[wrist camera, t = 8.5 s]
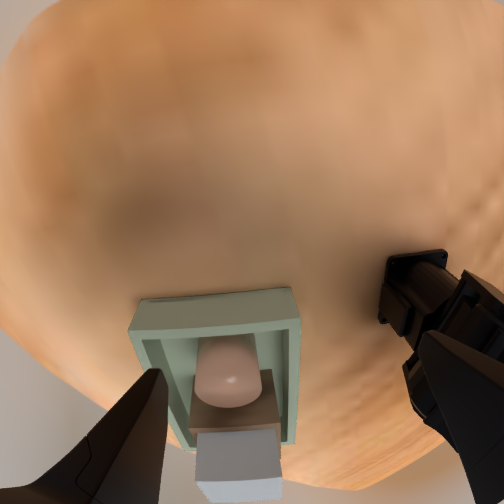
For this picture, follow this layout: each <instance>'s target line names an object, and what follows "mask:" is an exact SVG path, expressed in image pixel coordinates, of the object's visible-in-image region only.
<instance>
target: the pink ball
mask: <svg viewBox="0 0 504 504" xmlns="http://www.w3.org/2000/svg"><path fill="white" fill-rule="evenodd" d="M261 391H262V384H261V377H260V370H259V362H258V355H257V348H256V341H255V335H254V333H247V334H236V335H224V336H211V337H199V338H198V348H197V361H196V375H195V393H196V395H197V396H198V397H199V398H200V399H201V400H202V401H204V402H205V403H207V404H210V405H213V406H216V407H223V408H233V407H240V406H244V405H246V404H249V403H251V402H253V401H254V400H255V399H257V398H258V397H259V395H260V394H261Z"/></svg>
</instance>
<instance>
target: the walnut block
mask: <svg viewBox="0 0 504 504" xmlns="http://www.w3.org/2000/svg"><path fill="white" fill-rule="evenodd" d="M260 377H261V384H262V391H261V394H260V395H259V397H258V398H257V399H255V400H254V401H253V402H251V403H249V404H246V405H244V406H240V407H233V408H223V407H216V406H213V405H210V404H207V403H205V402H204V401H202V400H201V399H200V398H199V397H198V396H197V395H196V393H195V375H194V378H193V387H192V396H191V405H190V415H189V426H188V429H189V431H190V433H191V435H192V437H193V439H194V441H195V443H196V445H197V434H198V433H217V432H237V431H251V430H262V429H271V428H275V431H276V438H277V444H278V451H279V458H280V459H281V422H280V416H279V410H278V404H277V398H276V392H275V386H274V380H273V374H272V369H265V370H260Z"/></svg>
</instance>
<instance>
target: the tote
mask: <svg viewBox="0 0 504 504" xmlns="http://www.w3.org/2000/svg"><path fill="white" fill-rule="evenodd" d="M127 331H128V334H129V336H130V339H131V341H132V344H133V346H134V349H135V351H136V354H137V356H138V359H139V361H140V363H141V366H142V368H143V370H144V373H145V372H146V370H147V369H149V368H160V369H161V370H162V371H163V374H164V376H165V379H166V381H167V384H168V388H169V396H168V422H169V424H170V426H171V428H172V430H173V432H174V434H175V435H176V437H177V439H178V441H179V442H180V444H181V446H182V448H183V449H184V451H197V445H196V443H195V441H194V439H193V437H192V435H191V433H190V431H189V429H188V426H189V415H190V405H191V396H192V387H193V378H194V375H196V361H197V348H198V338H199V337H211V336H224V335H236V334H247V333H254V335H255V341H256V348H257V355H258V362H259V370H265V369H272V374H273V380H274V386H275V392H276V398H277V404H278V410H279V416H280V422H281V446H283V445H290V444H295V437H296V424H297V409H298V391H299V371H300V344H301V316H300V313H299V310H298V307H297V305H296V302H295V299H294V296H293V293H292V291H291V288H290V287H285V288H276V289H266V290H257V291H246V292H236V293H225V294H214V295H202V296H189V297H175V298H161V299H146V300H141V302H140V304H139V306H138V308H137V311H136V313H135V315H134V317H133V319H132V322H131V324H130V326H129V328H128V330H127Z"/></svg>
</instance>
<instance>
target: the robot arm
mask: <svg viewBox="0 0 504 504" xmlns="http://www.w3.org/2000/svg"><path fill="white" fill-rule="evenodd" d="M442 255H443V256H442ZM447 258H448V253H447V252H446V251H445V250H435V251H427V252H419V253H412V254H404V255H395V256H391V257H389V258H388V260H387V264H386V272H385V279H384V283H383V284H382V291H381V297H380V303H379V315H378V321H379V322H380V324H387V323H390V325H391V326H392V328H393V329H394V330H395V332H396V333H397V335H398V336H399V337H403V336H404V338H405V339H406V341H407V342H408V343H409V345H410V346H411V348H412V349H413V351H414V353H413V354H412V355H411V357H410V358H409V359H408V360H406V362H405V363H404V364H403V365H402V368H403V372H404V376H405V380H406V384H407V388H408V393H409V397H410V401H411V404H412V407H413V410H414V411H415V412H416V413H417V414H418V415H419V416H420V417H421V418H422V419H423V422H424V423H425V424H426V425H428V426H430V427H431V428H433V429H435V430H436V431H437V432H438V433H440V434H441V435H442V436H443V437H444V438H445V439H446V440H447V441H448V442H449V443H450V445H451V446H452V447H453V448H454V450H455V451H456V452H457V453H459V456H460V458H461V461H462V464H463V466H464V469H465V472H466V475H467V478H468V481H469V484H470V487H471V490H472V493H473V497H474V500H475V503H476V504H498V503H499V502H501V501H502V500H503V499H504V294H503V293H502V292H501V291H500V290H498V289H497V288H496V287H494V286H493V285H492V284H490V283H488V282H486V281H485V280H483V279H481V278H479V277H478V276H476V275H474V274H472V273H470V272H469V271H467V270H465V269H464V271H463V273H462V275H461V279H460V280H458V279H457V278H456V277H455V276H454V275H452V274H451V273H450V272H449V271H447V270H446V269H445V268H446V263H447ZM393 261H394V263H393V264H392V262H393ZM383 318H384V319H383ZM168 396H169V388H168V384H167V381H166V379H165V376H164V374H163V371H162V370H161V369H160V368H149V369H147V370H146V372H145V373H144V374H143V375H142V376H141V377H140V378H139V379H138V380H137V381H136V382H135V383H134V384H133V386H132V387H131V388H130V389H129V390H128V391H127V392H126V393H125V394H124V395H123V396H122V397H121V398H120V399H119V401H118V402H117V403H116V404H115V405H114V406H113V407H112V408H111V409H110V410H109V411H108V412H107V413H106V415H105V416H104V417H103V418H102V419H101V420H100V421H99V422H98V423H97V424H96V425H95V426H94V427H93V428H92V430H90V432H89V433H88V434H87V436H85V437H84V438H83V439H82V440H81V441H80V442H79V443H78V444H77V445H76V446H75V447H74V448H73V449H72V450H71V451H70V452H69V453H68V454H67V455H66V456H65V457H64V458H62V459H61V460H60V461H59V462H58V463H57V464H55V465H54V466H53V467H52V468H51V469H49V470H48V471H47V472H46V473H44V474H43V475H42V476H41V477H40V478H38V479H37V480H36V481H34V482H32V483H30V484H28V485H25V486H21V487H12V488H2V489H0V504H158V501H159V491H160V483H161V474H162V466H163V459H164V451H165V444H166V437H167V428H168Z"/></svg>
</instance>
